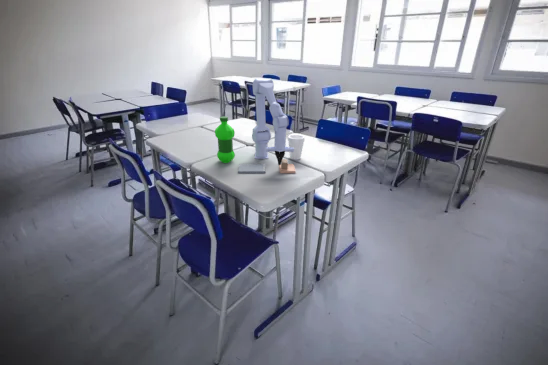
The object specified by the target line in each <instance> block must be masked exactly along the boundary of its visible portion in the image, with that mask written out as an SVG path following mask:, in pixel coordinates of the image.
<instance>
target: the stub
mask: <svg viewBox="0 0 548 365" xmlns="http://www.w3.org/2000/svg"><path fill="white" fill-rule="evenodd" d="M295 167H296V166H295V165H294V163H289V162H288V159H286V158H285V159H284V158H283V159H282V161H281V165H278V169H279V174H296V172H297V171H296V168H295Z"/></svg>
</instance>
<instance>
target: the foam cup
mask: <svg viewBox="0 0 548 365" xmlns="http://www.w3.org/2000/svg"><path fill="white" fill-rule="evenodd" d="M305 137H306V136H304V135H302V134H297V133H295V134H293V133H292V134H289V135H288V136H287V141H288V147H293V148H294V152H288V153H289V158H290V159H291V160H300V159H301V158H302V152H303V147H304V142H305Z"/></svg>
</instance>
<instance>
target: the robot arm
mask: <svg viewBox="0 0 548 365" xmlns="http://www.w3.org/2000/svg"><path fill="white" fill-rule="evenodd" d="M274 86H275V83H274V81H273V79H272V78H255V79H253V82H252V94H253V95H254V96H255V110H256V111H255V112H256V113H255V115H256V126H255V127H254V128H253V129H252V132H251V133H252V134H251V138H252V141H253V142H254V143H255V149H254V150H255V151H254V159H261V160H262V159H264V160H265V159H267V160H268V159H269V152H271V153H273V152H274V155H275V157H276V159H277V165H278V166H279V165H281V161H282V159H284V157H285V155H286V153H287V152H288V153H289V152H294V148H293V147H289V146H287V145H286V144H287V143H286V142H287V141H286V139H287V138H286V137H287V127H289V125H290V124H289V123H290V120H289V117H288V115H286V114H285V113H284V112H283V109H282V107H281V105H280V103H278V101H277V100H276V95H275V93H274ZM265 98H266V100H267V102H268V104H269V111H270V114H271V116H272V125H273V132H274V145H273V146H269V147H268V143H269V141H270V140H271V137H272V135H271V134H272V133H271V129H270V128H269V126H267V125H266V124H267V122H266V103H265V102H266V100H265Z"/></svg>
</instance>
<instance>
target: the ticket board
mask: <svg viewBox="0 0 548 365" xmlns="http://www.w3.org/2000/svg"><path fill="white" fill-rule="evenodd" d="M237 173H238V174H266V164H265V163H239V165H238V170H237Z"/></svg>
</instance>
